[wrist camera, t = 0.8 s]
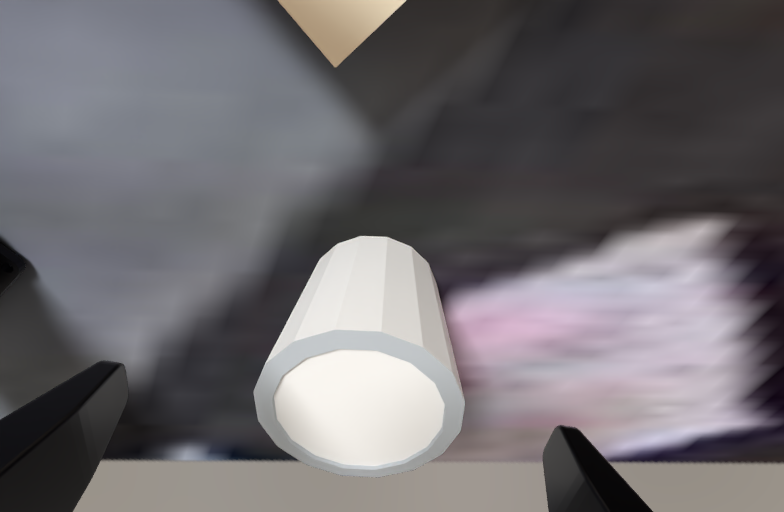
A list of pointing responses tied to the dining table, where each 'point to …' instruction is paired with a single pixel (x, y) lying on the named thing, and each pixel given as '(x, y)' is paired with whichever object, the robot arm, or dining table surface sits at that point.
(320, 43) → the ash block
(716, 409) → the dining table surface
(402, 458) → the shot glass
